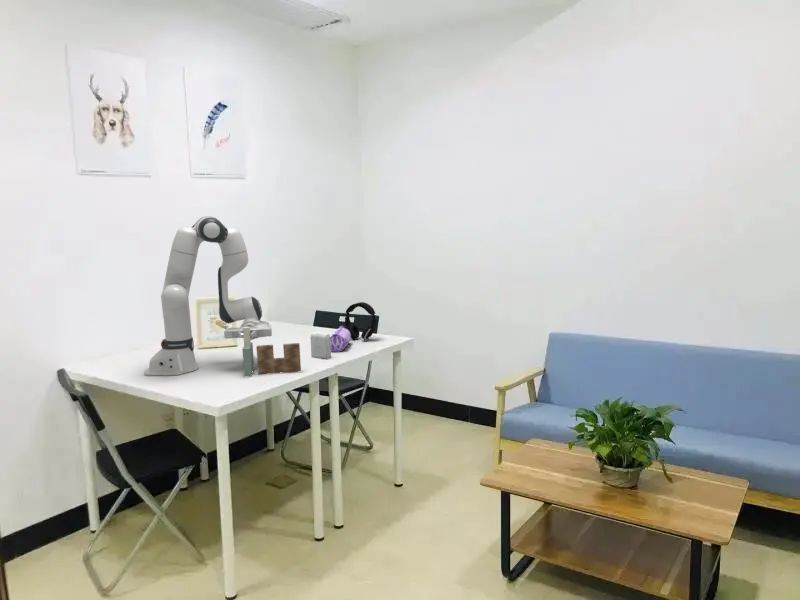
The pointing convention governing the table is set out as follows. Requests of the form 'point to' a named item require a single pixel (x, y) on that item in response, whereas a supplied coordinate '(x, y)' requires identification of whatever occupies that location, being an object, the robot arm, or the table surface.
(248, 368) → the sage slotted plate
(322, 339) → the photo printer
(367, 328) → the headphones
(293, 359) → the walnut slotted board
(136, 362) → the table surface
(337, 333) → the pencil case
